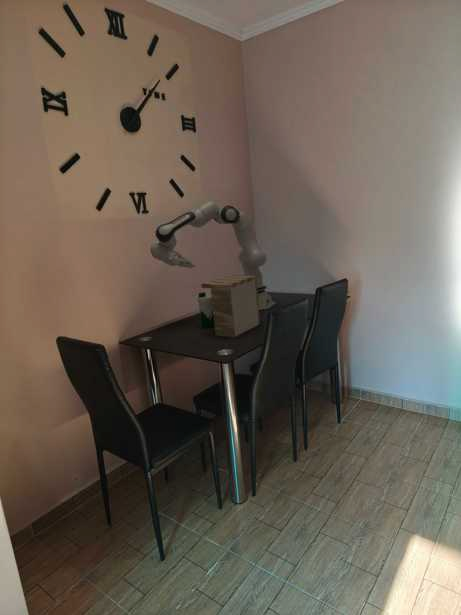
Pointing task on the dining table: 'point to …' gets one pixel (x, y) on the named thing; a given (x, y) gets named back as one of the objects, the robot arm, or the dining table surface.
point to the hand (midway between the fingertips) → (193, 267)
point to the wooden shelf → (234, 304)
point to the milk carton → (206, 310)
